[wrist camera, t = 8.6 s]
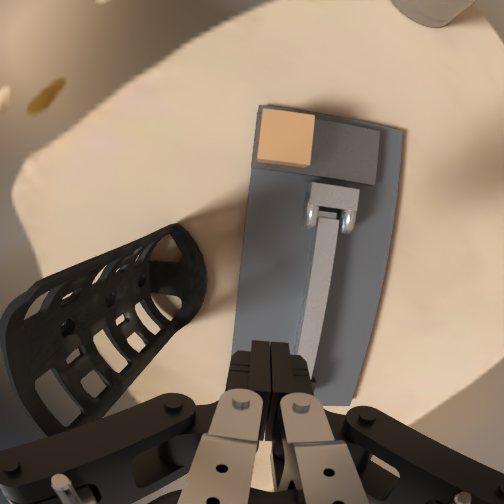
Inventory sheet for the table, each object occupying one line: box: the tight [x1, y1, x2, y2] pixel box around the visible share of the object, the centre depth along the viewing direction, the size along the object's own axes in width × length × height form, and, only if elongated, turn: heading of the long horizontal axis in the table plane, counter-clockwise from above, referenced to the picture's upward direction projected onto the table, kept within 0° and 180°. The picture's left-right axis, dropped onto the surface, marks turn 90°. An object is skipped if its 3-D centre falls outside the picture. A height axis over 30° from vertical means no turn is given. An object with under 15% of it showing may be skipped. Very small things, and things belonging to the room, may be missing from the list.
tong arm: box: [295, 217, 339, 393], centre depth 28 cm, size 19×3×1 cm, turn 174°
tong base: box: [251, 111, 380, 377], centre depth 28 cm, size 27×11×3 cm, turn 174°
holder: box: [0, 223, 206, 438], centre depth 22 cm, size 11×8×20 cm
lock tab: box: [257, 108, 315, 168], centre depth 24 cm, size 4×4×3 cm
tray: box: [231, 105, 403, 406], centre depth 30 cm, size 30×14×1 cm, turn 174°
